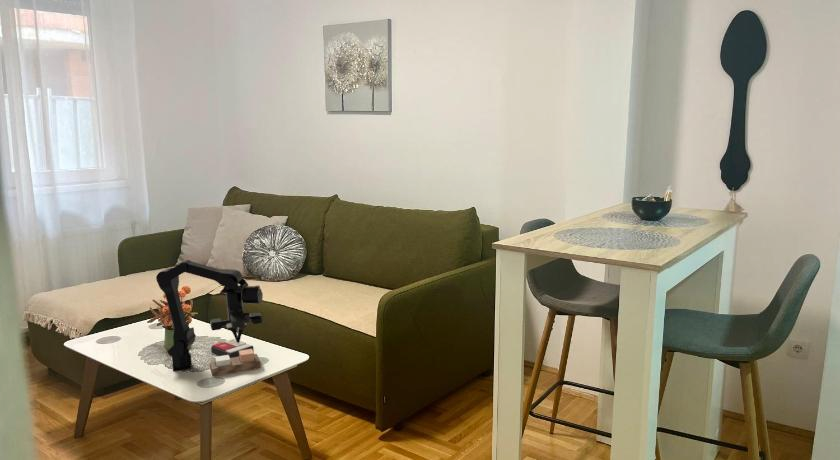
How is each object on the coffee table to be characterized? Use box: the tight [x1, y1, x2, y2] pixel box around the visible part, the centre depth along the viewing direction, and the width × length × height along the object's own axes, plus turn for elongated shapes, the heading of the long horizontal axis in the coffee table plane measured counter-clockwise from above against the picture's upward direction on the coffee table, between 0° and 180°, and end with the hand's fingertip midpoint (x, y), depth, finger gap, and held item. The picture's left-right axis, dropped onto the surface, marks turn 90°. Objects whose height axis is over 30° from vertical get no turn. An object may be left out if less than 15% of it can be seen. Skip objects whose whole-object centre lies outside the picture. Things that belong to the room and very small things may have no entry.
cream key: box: [214, 355, 231, 367], centre depth 239 cm, size 5×5×4 cm
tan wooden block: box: [239, 349, 255, 363], centre depth 242 cm, size 5×5×4 cm
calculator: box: [210, 338, 255, 358], centre depth 256 cm, size 11×4×15 cm
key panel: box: [209, 353, 262, 377], centre depth 241 cm, size 18×8×3 cm, turn 114°
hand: (238, 342), depth 239 cm, fingers closed
